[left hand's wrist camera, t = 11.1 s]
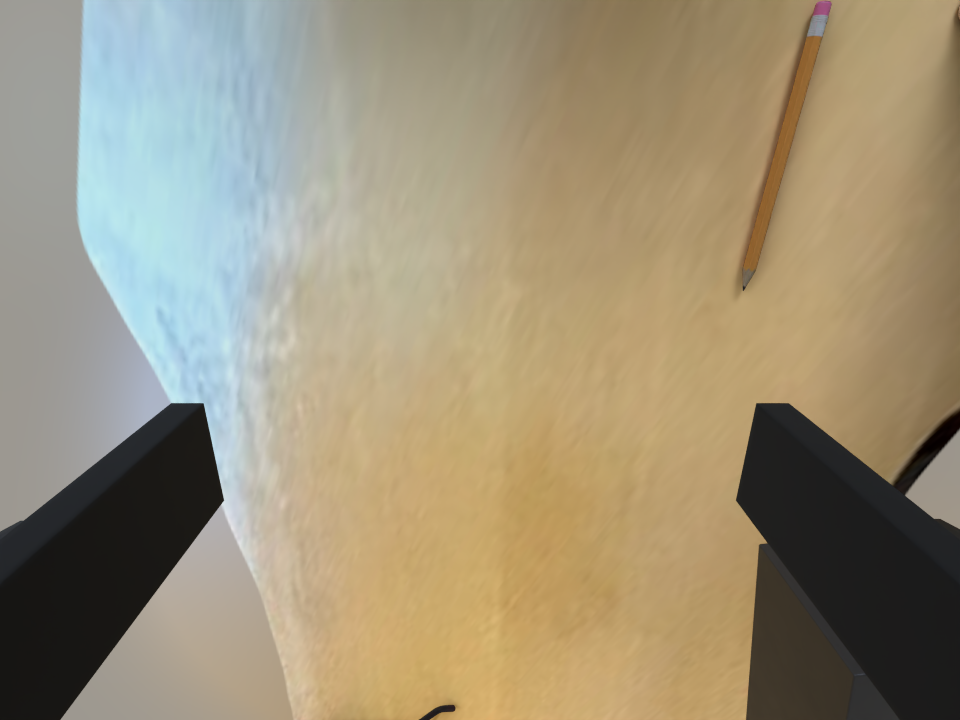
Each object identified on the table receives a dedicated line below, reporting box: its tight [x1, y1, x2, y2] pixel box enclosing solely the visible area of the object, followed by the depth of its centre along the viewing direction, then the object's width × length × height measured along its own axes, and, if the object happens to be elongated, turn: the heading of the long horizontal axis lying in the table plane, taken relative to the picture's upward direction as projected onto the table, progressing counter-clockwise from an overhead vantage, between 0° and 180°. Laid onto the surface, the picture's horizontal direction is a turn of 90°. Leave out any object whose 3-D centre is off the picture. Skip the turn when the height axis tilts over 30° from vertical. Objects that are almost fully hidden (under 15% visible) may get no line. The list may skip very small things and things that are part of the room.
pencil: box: [743, 1, 831, 291], centre depth 37 cm, size 1×1×19 cm
